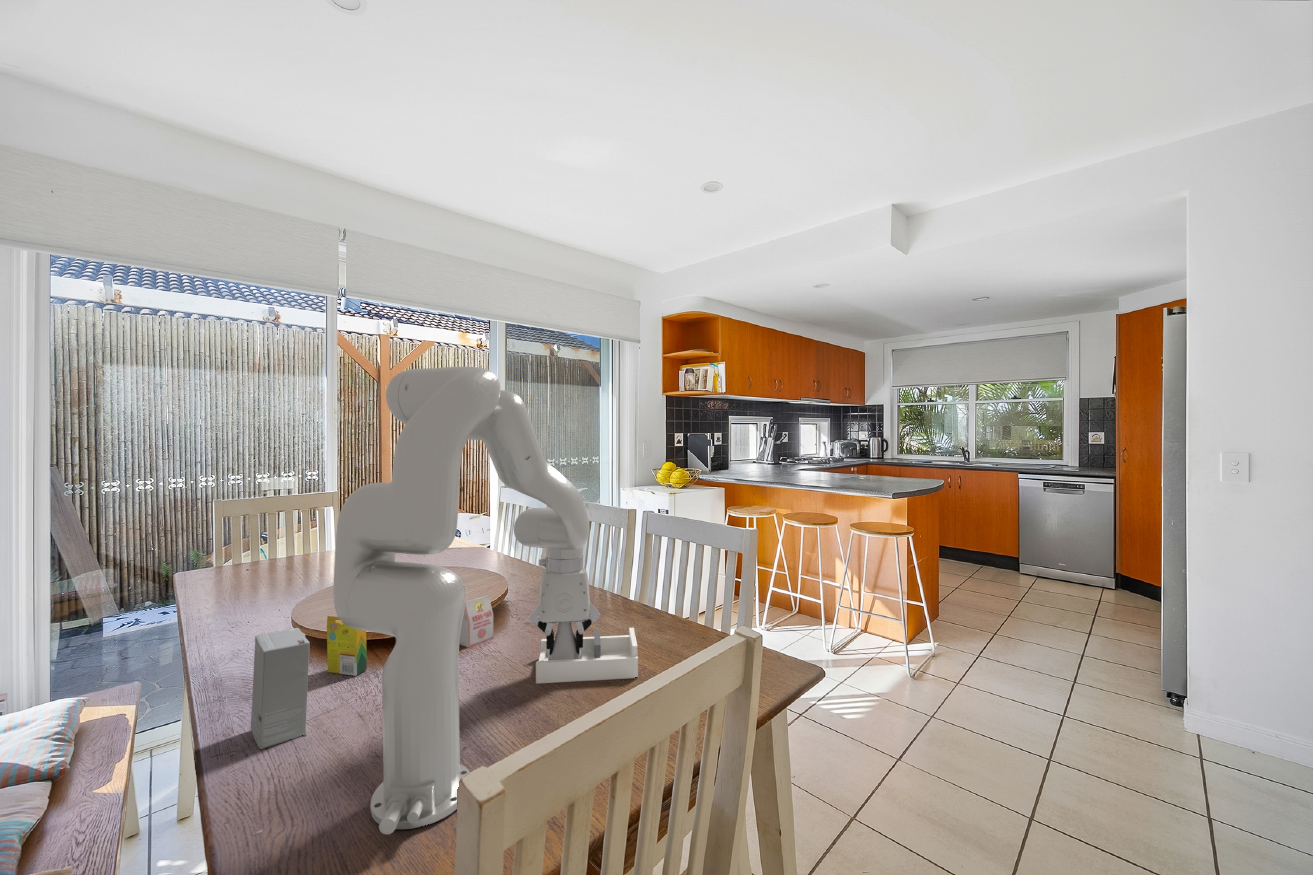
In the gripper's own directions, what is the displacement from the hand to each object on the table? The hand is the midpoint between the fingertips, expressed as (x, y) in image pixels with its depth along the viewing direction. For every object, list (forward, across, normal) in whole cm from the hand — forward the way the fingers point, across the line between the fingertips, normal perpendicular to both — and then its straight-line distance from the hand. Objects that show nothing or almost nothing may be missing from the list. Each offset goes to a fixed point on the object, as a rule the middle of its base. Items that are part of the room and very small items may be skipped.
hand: (564, 650), depth 112 cm
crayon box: (+4, -44, +4) cm, 45 cm away
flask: (+2, 0, 0) cm, 2 cm away
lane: (+4, +5, 0) cm, 6 cm away
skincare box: (+4, -45, -18) cm, 49 cm away
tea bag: (+4, -21, +17) cm, 28 cm away
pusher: (+2, +7, 0) cm, 7 cm away
